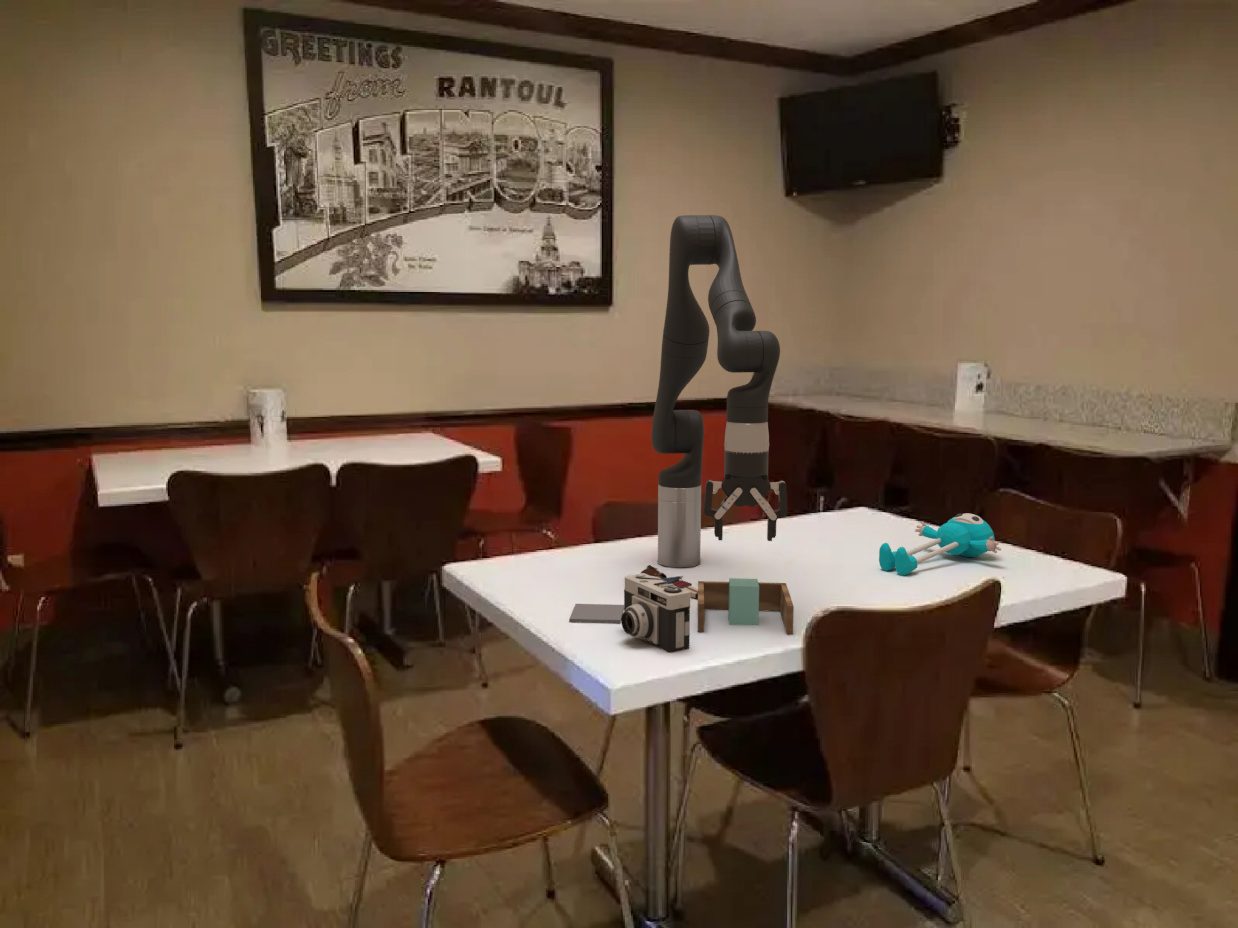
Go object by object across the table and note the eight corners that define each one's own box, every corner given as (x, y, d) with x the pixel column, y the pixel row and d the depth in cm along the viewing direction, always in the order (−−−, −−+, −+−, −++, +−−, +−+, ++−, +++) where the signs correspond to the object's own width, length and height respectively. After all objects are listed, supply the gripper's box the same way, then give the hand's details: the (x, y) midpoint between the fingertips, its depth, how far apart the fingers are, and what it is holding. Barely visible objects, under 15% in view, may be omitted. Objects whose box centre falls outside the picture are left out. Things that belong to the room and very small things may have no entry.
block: (728, 616, 174) (729, 578, 173) (756, 616, 174) (757, 578, 173) (729, 624, 169) (730, 586, 168) (758, 625, 169) (759, 586, 168)
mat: (575, 606, 179) (575, 603, 179) (624, 608, 179) (624, 604, 179) (569, 622, 170) (569, 618, 170) (620, 623, 170) (620, 620, 170)
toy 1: (722, 596, 190) (661, 578, 199) (724, 573, 189) (663, 556, 199) (681, 613, 180) (618, 593, 189) (683, 589, 179) (620, 570, 188)
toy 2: (849, 536, 210) (938, 501, 226) (852, 579, 213) (939, 541, 229) (934, 557, 192) (1024, 518, 208) (936, 603, 195) (1025, 561, 210)
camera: (603, 633, 165) (603, 576, 163) (644, 625, 169) (644, 569, 168) (649, 658, 153) (650, 596, 152) (691, 648, 158) (692, 588, 156)
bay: (697, 607, 179) (698, 581, 178) (785, 609, 178) (785, 583, 177) (697, 631, 165) (698, 603, 165) (792, 634, 164) (793, 605, 163)
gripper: (786, 445, 170) (784, 535, 172) (704, 444, 171) (703, 534, 174) (790, 451, 163) (787, 545, 165) (705, 450, 164) (703, 544, 166)
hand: (744, 539), depth 169 cm, fingers open, 8 cm apart
